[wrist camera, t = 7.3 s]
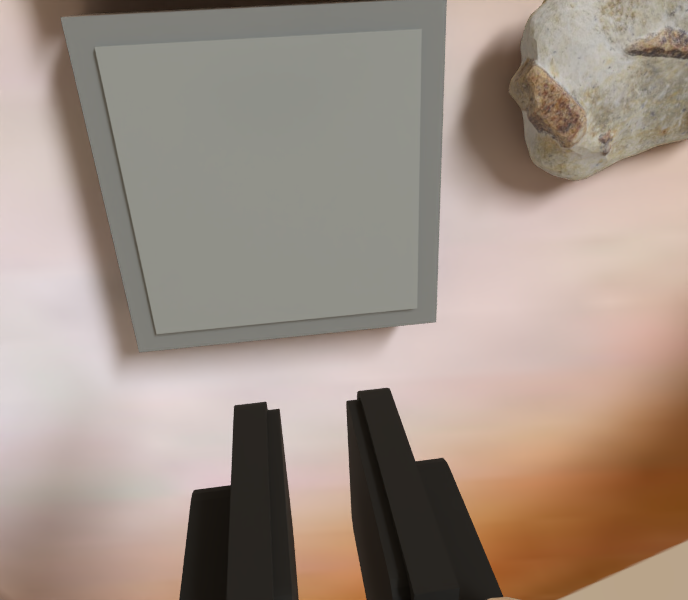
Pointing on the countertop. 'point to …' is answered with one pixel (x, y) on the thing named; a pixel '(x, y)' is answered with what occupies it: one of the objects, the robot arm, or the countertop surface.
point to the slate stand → (268, 164)
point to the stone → (602, 82)
